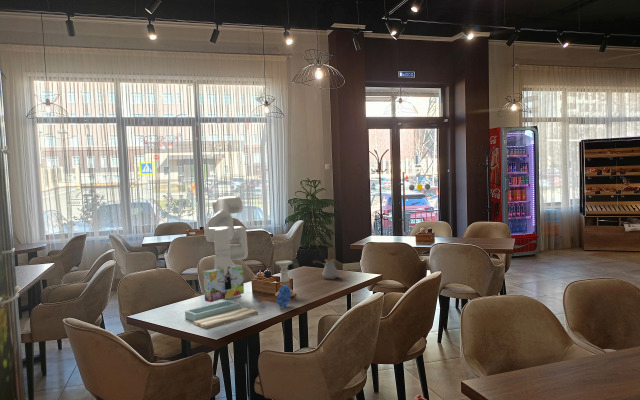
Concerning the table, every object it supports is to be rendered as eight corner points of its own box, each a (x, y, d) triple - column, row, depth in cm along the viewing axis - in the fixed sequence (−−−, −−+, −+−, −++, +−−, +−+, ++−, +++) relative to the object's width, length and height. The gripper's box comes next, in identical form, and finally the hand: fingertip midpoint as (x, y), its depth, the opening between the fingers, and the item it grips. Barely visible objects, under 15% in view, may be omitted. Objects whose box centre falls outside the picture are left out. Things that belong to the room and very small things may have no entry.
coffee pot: (329, 275, 326) (328, 254, 325) (342, 277, 318) (341, 255, 318) (308, 281, 310) (307, 259, 310) (321, 283, 302) (320, 260, 302)
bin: (185, 318, 238) (184, 310, 237) (228, 307, 255) (228, 300, 255) (195, 322, 230) (195, 314, 229) (240, 310, 247) (239, 303, 247)
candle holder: (298, 296, 272) (296, 262, 271) (277, 298, 268) (275, 264, 268) (293, 291, 284) (291, 259, 283) (273, 294, 280) (271, 261, 279)
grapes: (285, 303, 257) (284, 282, 257) (294, 304, 253) (293, 283, 253) (271, 308, 248) (270, 286, 247) (281, 310, 244) (280, 287, 243)
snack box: (211, 302, 222) (209, 271, 222) (204, 301, 226) (202, 271, 226) (244, 293, 239) (242, 264, 239) (237, 292, 242) (235, 263, 242)
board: (193, 324, 227) (193, 321, 227) (244, 310, 248) (244, 307, 248) (206, 328, 218) (205, 325, 218) (257, 314, 239) (257, 311, 239)
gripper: (207, 252, 235) (209, 287, 236) (225, 255, 223) (227, 292, 224) (220, 250, 241) (222, 284, 241) (238, 253, 228) (240, 289, 229)
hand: (224, 288), depth 232 cm, fingers closed on snack box, 6 cm apart
